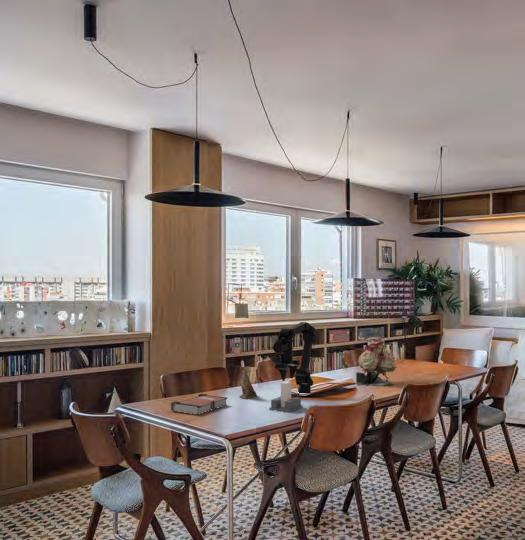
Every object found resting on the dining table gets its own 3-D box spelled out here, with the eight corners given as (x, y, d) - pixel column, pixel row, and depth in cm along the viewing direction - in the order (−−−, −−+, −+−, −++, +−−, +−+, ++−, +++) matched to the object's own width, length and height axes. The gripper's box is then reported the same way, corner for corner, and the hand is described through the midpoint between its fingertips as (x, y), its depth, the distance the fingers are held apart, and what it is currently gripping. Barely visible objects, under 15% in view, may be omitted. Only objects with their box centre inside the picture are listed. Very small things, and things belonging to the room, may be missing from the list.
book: (198, 416, 280) (198, 406, 280) (171, 412, 289) (171, 402, 289) (228, 406, 303) (228, 396, 303) (202, 402, 312) (202, 393, 312)
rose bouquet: (356, 386, 352) (356, 338, 353) (355, 378, 381) (355, 334, 382) (398, 387, 349) (398, 339, 349) (394, 379, 377) (394, 334, 378)
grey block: (285, 405, 297) (285, 381, 297) (291, 406, 295) (291, 382, 295) (280, 407, 292) (280, 382, 293) (286, 407, 290) (286, 383, 291)
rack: (282, 404, 303) (282, 395, 303) (302, 407, 296) (302, 397, 297) (269, 409, 291) (269, 400, 291) (289, 412, 284) (289, 402, 285)
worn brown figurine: (245, 403, 317) (241, 373, 314) (238, 402, 321) (234, 372, 318) (258, 396, 327) (254, 366, 324) (251, 394, 330) (247, 365, 327)
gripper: (282, 348, 323) (282, 375, 323) (266, 352, 307) (266, 381, 307) (300, 349, 318) (300, 377, 317) (284, 353, 301) (284, 382, 301)
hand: (287, 379), depth 311 cm, fingers open, 9 cm apart
